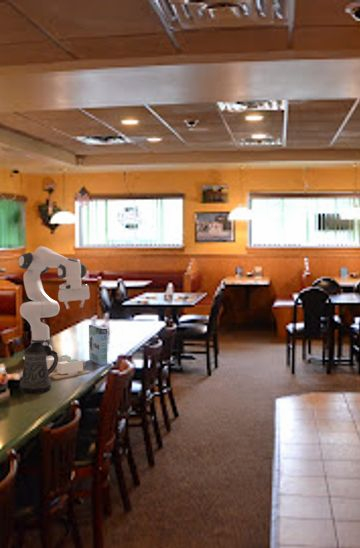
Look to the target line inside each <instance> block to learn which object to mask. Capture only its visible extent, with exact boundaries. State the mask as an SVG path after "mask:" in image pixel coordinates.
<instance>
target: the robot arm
mask: <svg viewBox="0 0 360 548" xmlns="http://www.w3.org/2000/svg"><path fill="white" fill-rule="evenodd" d="M18 266H19V268H20V269H23V270H24V271H25V270H26V271H25V272H24V273H23V284H24V285H23V286H24V290H25V293H26V296H27V297H28V299H30V300H31V301H26V302H23V303H22V304H21V305H20V306H19V313H20V316H21V317H22V318H23V319H25V320H26V321H27V322H28V324H29V325H30V329H31V339H30V345H31V344H32V343H42V345H48V346H49V347H50V348H51V350H53V346H52V345H51V338H50V327H49V325H48V324H46V323H45V322H42V321H41V319H42V318H52V317H55V316H57V315H59V312H60V309H61V308H60V304H59V302H62V303H63V304H64V305H65V308H66V310H69V309H70V305H69V304H68V303H69V302H72V301H73V302H74V301H80V304H79V308H84V304H85V300H89V299H90V297H91V294H90V293H91V292H90V285H88V284H87V283H86V284H82V279H84V278H85V276H86V275H87V272H88V269H87V267H86V265H85V264H84V263H83V262H82V261H80V259H78V258H76V257H75V258H74V257H68V256H64V255H62V254H60V253H58V252H55V251H54V250H53V249H50V248H49V247H47V246H46V247H45V246H42V245H41V246H39V247H37V248H36V249H35V251H34V252H32V253H31V252H27V253H23V254H21V255H19V258H18ZM51 268H52V269H53V268H54V269H55V268H57V269H56V273H57V276H58V277H59V278H60V279H61V280H66V282H64V283H62V284H59V286H58V288H59V290H58V293H57V294H58V296H57V298H58V301H59V302H58V301H57V300H54V299H52V298H51V297H50V296H49V295H48V294H47V293H46V291H45V290H44V286H43V283H42V280H41V275H45V274H46V273H47V272H48V271H49V270H50V269H51ZM48 358H54V357H53V356H46V359H48ZM22 360H24V361H25V356H23V357H22Z"/></svg>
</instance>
